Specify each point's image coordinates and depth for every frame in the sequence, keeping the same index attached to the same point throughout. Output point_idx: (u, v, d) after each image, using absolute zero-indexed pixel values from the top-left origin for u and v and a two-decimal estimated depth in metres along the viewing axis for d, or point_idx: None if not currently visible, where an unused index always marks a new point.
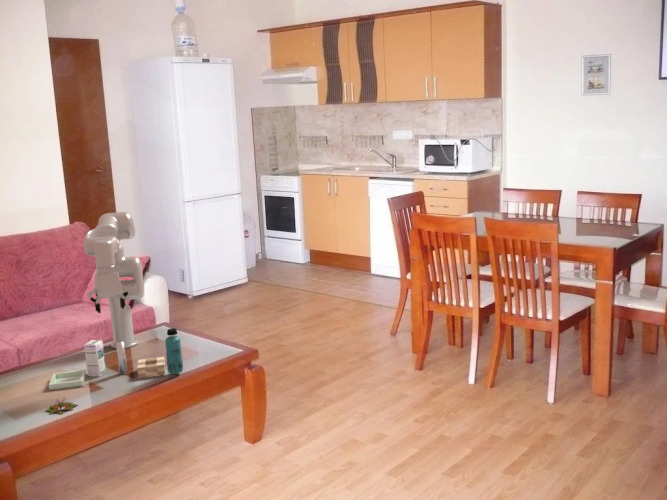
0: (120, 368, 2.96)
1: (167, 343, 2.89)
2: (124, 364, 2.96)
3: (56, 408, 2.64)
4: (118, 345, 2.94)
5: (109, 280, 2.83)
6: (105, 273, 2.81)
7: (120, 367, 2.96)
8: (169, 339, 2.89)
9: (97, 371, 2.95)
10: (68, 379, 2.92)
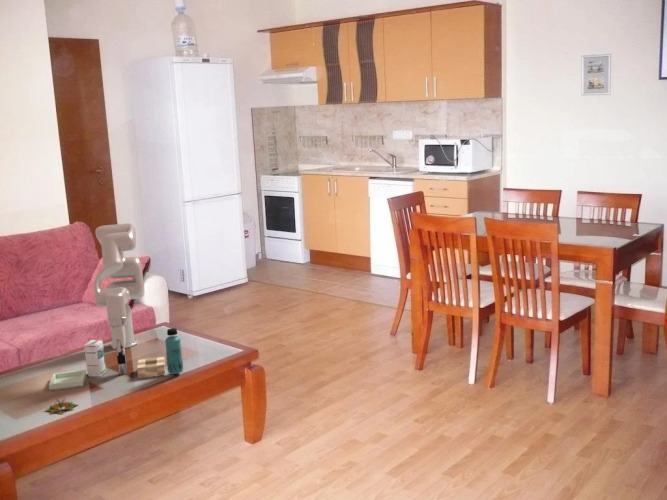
0: (120, 368, 2.96)
1: (167, 343, 2.89)
2: (124, 364, 2.96)
3: (56, 408, 2.64)
4: None
5: (124, 329, 2.95)
6: (126, 322, 2.93)
7: (120, 367, 2.96)
8: (169, 339, 2.89)
9: (97, 371, 2.95)
10: (68, 379, 2.92)
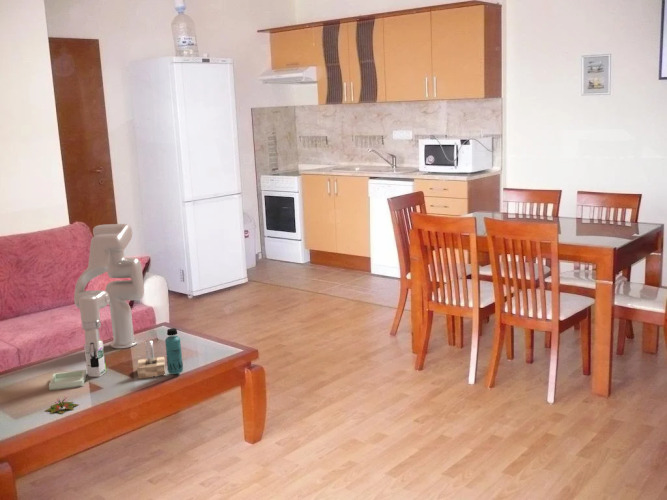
0: None
1: (167, 343, 2.89)
2: (153, 363, 2.96)
3: (57, 408, 2.64)
4: (147, 343, 2.93)
5: (98, 333, 2.96)
6: (99, 325, 2.94)
7: None
8: (169, 339, 2.89)
9: (97, 371, 2.95)
10: (68, 379, 2.92)
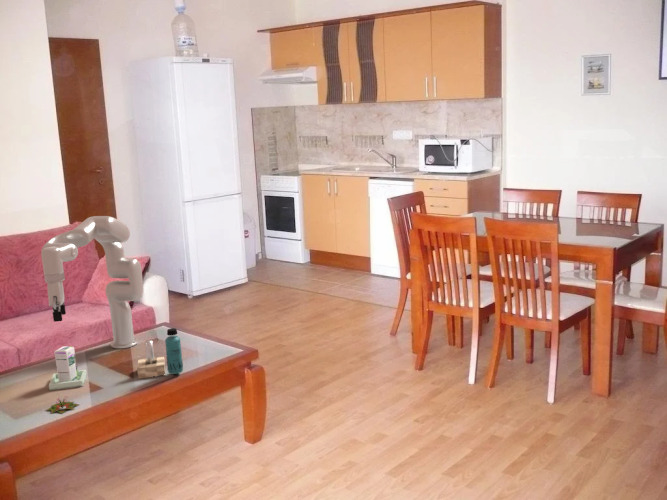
0: None
1: (167, 343, 2.89)
2: (153, 363, 2.96)
3: (57, 408, 2.65)
4: (147, 344, 2.93)
5: (62, 286, 2.83)
6: (63, 278, 2.81)
7: None
8: (169, 339, 2.89)
9: (68, 378, 2.87)
10: None
